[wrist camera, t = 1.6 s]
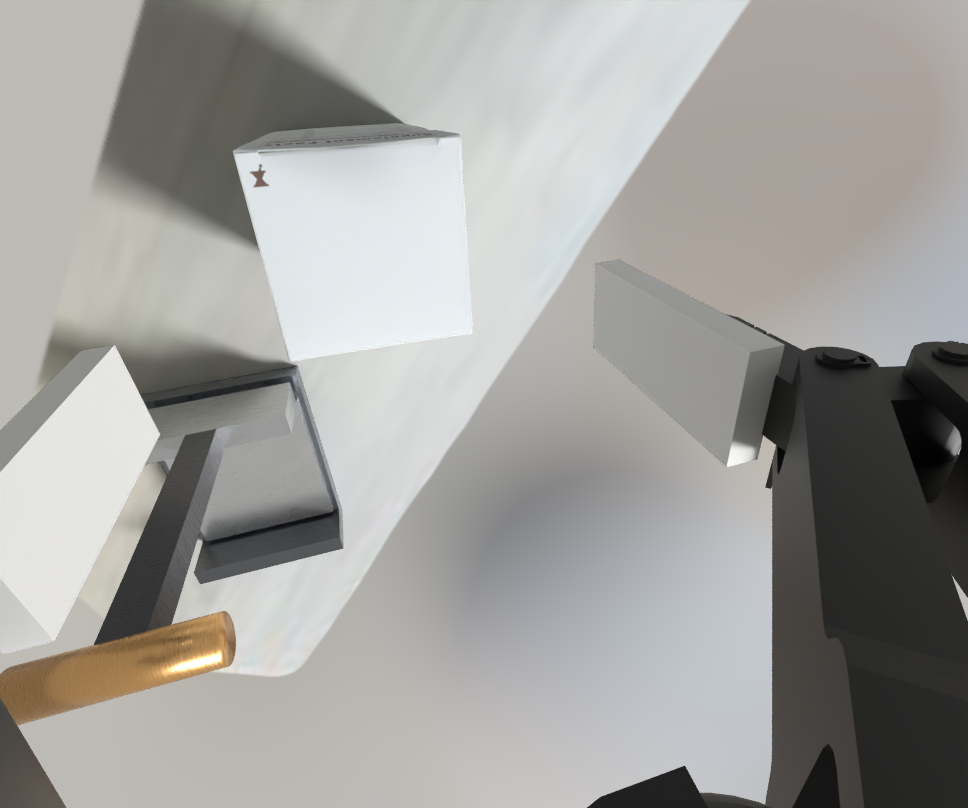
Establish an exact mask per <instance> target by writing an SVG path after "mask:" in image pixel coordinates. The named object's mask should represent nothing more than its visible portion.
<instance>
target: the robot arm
mask: <svg viewBox="0 0 968 808" xmlns="http://www.w3.org/2000/svg"><path fill="white" fill-rule="evenodd" d="M595 266H596V267H595V301H594V338H593V348H594V349H596V350H597V351H598V352H599V353H600V354H601V355H602V356H604V358H606V359H607V360H608V361H609V362H610V363H611V364H612V365H613V366H615V367H616V368H617V369H618V370H619V371H620V372H621V373H622V374H623V375H625V376H626V377H627V378H628V379H629V380H630V381H631V382H632V383H633V384H635V385H636V386H637V387H638V388H639V389H640V390H641V391H642V392H644V393H645V394H646V395H647V396H648V397H649V398H650V399H652V401H654V402H655V403H656V404H657V405H658V406H659V407H660V408H661V409H662V410H664V411H665V412H666V413H667V414H668V415H669V416H670V417H671V418H673V419H674V420H675V421H676V422H677V423H678V424H679V425H680V426H682V427H683V428H684V429H685V430H686V431H687V432H688V433H689V434H690V435H691V436H693V437H694V438H695V439H696V440H697V441H698V442H699V443H700V444H701V445H703V446H704V447H705V448H706V449H707V450H708V451H709V452H710V453H712V454H713V455H714V456H715V457H716V458H717V459H718V460H719V461H720V462H722V463H723V464H724V465H725V466H726V467H729V466H733V465H736V464H741V463H744V462H748V461H752V460H756V459H757V458H758V454H759V450H760V446H761V442H762V438H763V435H764V436H765V437H766V438H768V439H769V440H770V441H772V442H773V443H774V444H776V449H775V452H774V456H773V460H772V464H771V468H770V472H769V476H768V479H767V483H766V488H770V489H771V488H772V493H773V496H772V500H773V501H772V507H773V509H772V513H773V514H772V517H773V518H772V521H773V522H772V524H773V525H772V531H773V532H772V534H773V535H772V536H773V537H772V538H773V539H772V546H773V547H772V550H773V551H772V552H773V553H772V570H773V571H772V578H773V579H772V609H773V610H772V764H771V773H770V779H769V785H768V790H767V796H766V804H765V805H764V804H762V803H759V802H756V801H752V800H748V799H744V798H740V797H736V796H731V795H723V794H714V793H699V791H698V789H697V787H696V785H695V783H694V782H693V780H692V778H691V776H690V774H689V772H688V771H687V769H686V767H685V766H683V767H680V768H677V769H675V770H672V771H669V772H667V773H664V774H661V775H659V776H656V777H653V778H651V779H648V780H645V781H642V782H640V783H637V784H634V785H632V786H629V787H626V788H624V789H621V790H619V791H615V792H613V793H610V794H607V795H605V796H602V797H600V798H599V799H597V800H596V801H595V802H594V803H592V804H591V805H590V806H589V807H587V808H968V621H967V618H966V615H965V612H964V609H963V607H962V603H961V601H960V598H959V595H958V592H957V589H956V586H955V584H954V581H953V578H952V576H953V577H954V579H955V580H956V582H957V583H958V584H959V586H960V587H961V589H962V590H963V592H964V593H965V595H966V596H967V597H968V344H965V343H959V342H954V341H948V342H924V343H921V344H918V345H915V346H914V348H913V349H912V351H911V353H910V356H909V359H908V361H907V364H906V366H899V367H898V366H897V367H879V366H878V364H877V363H876V362H875V361H874V360H873V359H872V358H870V357H868V356H867V355H865V354H862V353H859V352H856V351H853V350H850V349H844V348H838V347H816V348H809V349H807V350H805V351H803V350H801V349H799V348H797V347H796V346H793V345H791V344H790V343H788V342H786V341H784V340H782V339H780V338H778V337H776V336H774V335H772V334H767V332H766V331H764V330H762V329H760V328H758V327H755V328H754V325H752V324H750V323H748V322H746V321H744V320H742V319H740V318H738V317H734V316H731V315H727V314H724V313H722V312H720V311H718V310H716V309H714V308H712V307H710V306H708V305H707V304H705V303H703V302H701V301H699V300H697V299H695V298H693V297H691V296H689V295H687V294H685V293H683V292H682V291H679V290H678V289H676V288H674V287H672V286H670V285H668V284H666V283H664V282H662V281H660V280H658V279H656V278H654V277H652V276H650V275H648V274H647V273H645V272H643V271H641V270H639V269H637V268H635V267H633V266H631V265H629V264H627V263H625V262H623V261H621V260H612V261H606V262H601V263H596V265H595ZM159 436H160V433H159V431H158V429H157V427H156V425H155V423H154V422H153V420H152V418H151V416H150V414H149V412H148V410H147V408H146V406H145V404H144V402H143V400H142V398H141V396H140V394H139V392H138V390H137V388H136V386H135V384H134V382H133V380H132V378H131V376H130V374H129V372H128V370H127V368H126V366H125V364H124V362H123V360H122V358H121V356H120V354H119V352H118V350H117V348H116V347H115V345H111V346H105V347H99V348H93V349H87V350H82V351H80V352H79V353H78V354H77V355H76V356H75V357H74V358H73V359H72V360H71V361H70V362H69V363H68V364H67V365H66V366H65V367H64V368H63V369H62V370H61V371H60V372H59V373H58V374H57V375H56V376H55V377H54V378H53V379H52V380H51V381H50V382H49V383H48V384H47V385H46V386H45V387H44V388H43V389H42V390H41V391H40V392H39V393H38V394H37V395H36V396H35V397H33V398H32V399H31V400H30V401H29V402H28V403H27V404H26V405H25V406H24V407H23V408H22V409H21V410H20V411H19V412H18V413H17V414H16V415H15V416H14V417H13V418H12V419H11V420H10V421H9V422H8V423H7V424H6V425H5V426H4V427H3V428H2V429H1V430H0V651H1V652H2V653H3V654H7V653H11V652H14V651H18V650H22V649H26V648H30V647H34V646H38V645H42V644H45V643H49V642H53V641H55V639H56V637H57V635H58V633H59V631H60V629H61V627H62V625H63V623H64V621H65V619H66V617H67V615H68V613H69V611H70V609H71V607H72V605H73V603H74V602H75V599H76V598H77V596H78V594H79V592H80V590H81V588H82V586H83V584H84V582H85V580H86V578H87V576H88V574H89V572H90V570H91V568H92V566H93V564H94V563H95V561H96V559H97V557H98V555H99V553H100V551H101V549H102V547H103V545H104V543H105V541H106V539H107V537H108V535H109V533H110V531H111V529H112V527H113V525H114V523H115V522H116V520H117V518H118V516H119V514H120V512H121V510H122V508H123V506H124V504H125V502H126V500H127V498H128V496H129V494H130V492H131V490H132V488H133V486H134V484H135V482H136V481H137V479H138V477H139V475H140V473H141V471H142V469H143V467H144V465H145V463H146V461H147V459H148V457H149V455H150V453H151V451H152V449H153V447H154V445H155V443H156V441H157V440H158V438H159ZM960 447H961V450H960V453H959V455H958V454H957V453H958V451H959V449H960ZM951 574H952V575H951ZM0 808H66V806H65V805H64V803H63V801H62V800H61V798H60V797H59V795H58V793H57V792H56V790H55V788H54V786H53V785H52V783H51V781H50V780H49V778H48V776H47V775H46V773H45V771H44V770H43V768H42V766H41V765H40V763H39V761H38V760H37V758H36V756H35V755H34V753H33V751H32V750H31V748H30V746H29V745H28V743H27V741H26V740H25V738H24V736H23V735H22V733H21V731H20V730H19V728H18V726H17V725H16V723H15V721H14V720H13V718H12V716H11V715H10V713H9V711H8V710H7V708H6V706H5V705H4V703H3V701H2V700H1V698H0Z"/></svg>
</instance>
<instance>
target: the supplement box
mask: <svg viewBox="0 0 968 808" xmlns="http://www.w3.org/2000/svg"><path fill="white" fill-rule="evenodd" d="M233 155H234V159H235V163H236V166H237V170H238V174H239V177H240V181H241V185H242V188H243V192H244V196H245V199H246V203H247V207H248V210H249V214H250V218H251V221H252V225H253V229H254V232H255V236H256V240H257V243H258V247H259V251H260V254H261V258H262V262H263V265H264V269H265V273H266V276H267V280H268V284H269V287H270V291H271V295H272V298H273V302H274V306H275V309H276V313H277V316H278V320H279V324H280V328H281V331H282V335H283V339H284V343H285V346H286V350H287V354H288V358H289V361H291V362H292V361H298V360H304V359H310V358H317V357H323V356H330V355H336V354H342V353H348V352H355V351H361V350H367V349H374V348H380V347H386V346H393V345H399V344H406V343H412V342H419V341H425V340H432V339H438V338H445V337H451V336H458V335H464V334H472V333H473V327H472V312H471V297H470V282H469V268H468V251H467V235H466V219H465V201H464V183H463V164H462V145H461V136H460V135H459V134H456V133H450V132H444V131H438V130H427V129H425V128H422V127H417V126H411V125H407V124H403V123H389V124H370V125H354V126H339V127H324V128H310V129H298V130H286V131H276V132H271V133H268V134H266V135H264V136H261V137H259V138H258V139H256V140H254V141H251V142H249V143H246V144H244V145H242V146H240V147H238V148H236V149H234V150H233Z"/></svg>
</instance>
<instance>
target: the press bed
mask: <svg viewBox="0 0 968 808" xmlns="http://www.w3.org/2000/svg"><path fill="white" fill-rule="evenodd" d="M288 382H290V384H291V387H292V390H293V393H294V396H295V400H296V401H295V410H294V419H293V428H292V434H289V435H284V436H279V437H274V438H269V439H265V440H260V441H255V442H250V443H245V444H241V445H236V446H231V447H226V448H225V449H224V453H223V456H222V459H221V462H220V466H219V469H218V472H217V476H216V479H215V482H214V486H213V489H212V492H211V495H210V499H209V502H208V505H207V509H206V512H205V515H204V519H203V522H202V525H201V528H200V532H199V536H200V538H201V540H202V541H203V544H202V547H201V550H200V554H199V557H198V561H197V564H196V568H195V571H194V574H195V576H196V577H197V579H198V581H199V583H200V584H203V583H207V582H211V581H215V580H219V579H223V578H227V577H231V576H235V575H239V574H243V573H247V572H251V571H255V570H259V569H263V568H267V567H271V566H275V565H279V564H283V563H287V562H291V561H295V560H299V559H303V558H307V557H311V556H315V555H319V554H323V553H327V552H331V551H335V550H339V549H343V520H342V508H341V505H340V502H339V499H338V495H337V492H336V489H335V486H334V482H333V479H332V476H331V473H330V470H329V466H328V463H327V460H326V457H325V454H324V450H323V447H322V444H321V441H320V437H319V434H318V431H317V428H316V425H315V421H314V418H313V415H312V412H311V408H310V405H309V402H308V399H307V396H306V392H305V389H304V386H303V383H302V380H301V376H300V373H299V370H298V367H297V366H295V367H290V368H284V369H279V370H273V371H268V372H263V373H257V374H252V375H247V376H241V377H236V378H230V379H225V380H220V381H214V382H209V383H204V384H198V385H193V386H187V387H182V388H177V389H171V390H166V391H161V392H155V393H150V394H144V395H140V396H141V398H142V400H143V402H144V404H145V406H146V408H147V409H152V408H158V407H163V406H168V405H173V404H179V403H184V402H189V401H194V400H199V399H205V398H210V397H215V396H220V395H226V394H231V393H236V392H241V391H247V390H252V389H257V388H262V387H268V386H273V385H278V384H283V383H288ZM174 460H175V458H173V459H168V460H164V461H160V462H161V464H162V465H163V467H164V469H165V471H166V473H167V475H168V473H169V471H170V469H171V466H172V464H173V462H174Z"/></svg>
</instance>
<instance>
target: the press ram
mask: <svg viewBox="0 0 968 808" xmlns="http://www.w3.org/2000/svg"><path fill="white" fill-rule="evenodd" d="M295 401H296V400H295V396H294V393H293V390H292V387H291V384H290V382H288V383H283V384H278V385H273V386H268V387H262V388H257V389H252V390H247V391H241V392H236V393H231V394H226V395H220V396H215V397H210V398H205V399H199V400H194V401H189V402H184V403H179V404H173V405H168V406H163V407H158V408H152V409H147V410H148V412H149V414H150V416H151V418H152V420H153V422H154V423H155V425H156V427H157V429H158V431H159V433H160V436H159V438H158V440H157V441H156V443H155V445H154V447H153V449H152V451H151V453H150V455H149V457H148V459H147V461H146V463H145V464H149V463H154V462H159V461H164V460H168V459H173V458H175V460H174V462H173V464H172V466H171V469H170V471H169V473H168V476H167V478H166V480H165V483H164V485H163V487H162V489H161V492H160V494H159V496H158V499H157V501H156V503H155V505H154V508H153V510H152V512H151V515H150V517H149V519H148V522H147V524H146V526H145V528H144V531H143V533H142V535H141V538H140V540H139V542H138V544H137V547H136V549H135V551H134V554H133V556H132V558H131V561H130V563H129V565H128V567H127V570H126V572H125V574H124V577H123V579H122V581H121V583H120V586H119V588H118V590H117V593H116V595H115V597H114V600H113V602H112V604H111V606H110V609H109V611H108V613H107V616H106V618H105V620H104V622H103V625H102V627H101V629H100V632H99V634H98V637H97V639H96V641H95V643H94V645H92V646H88V647H84V648H80V649H76V650H73V651H69V652H65V653H62V654H57V655H53V656H50V657H46V658H42V659H39V660H35V661H30V662H27V663H23V664H19V665H15V666H12V667H9V668H7V669H6V670H4V671H3V672H2V673H1V674H0V698H1V700H2V701H3V703H4V705H5V706H6V708H7V710H8V711H9V713H10V715H11V716H12V718H13V720H14V721H15V723H16V725H21V724H24V723H28V722H31V721H35V720H39V719H42V718H46V717H49V716H53V715H56V714H60V713H63V712H67V711H71V710H74V709H78V708H82V707H85V706H88V705H92V704H95V703H99V702H103V701H107V700H110V699H113V698H117V697H121V696H124V695H128V694H131V693H135V692H139V691H142V690H146V689H150V688H153V687H156V686H160V685H163V684H167V683H171V682H175V681H178V680H182V679H185V678H189V677H192V676H196V675H199V674H203V673H207V672H210V671H214V670H217V669H221V668H225V667H228V666H230V665H231V664H232V662H233V660H234V656H235V649H236V637H235V630H234V625H233V622H232V619H231V617H230V615H229V614H228V613H227V612H226V611H222V612H218V613H214V614H210V615H207V616H203V617H199V618H195V619H191V620H187V621H184V622H180V623H176V624H172V621H173V618H174V614H175V611H176V608H177V604H178V601H179V598H180V594H181V591H182V588H183V585H184V581H185V578H186V575H187V571H188V568H189V565H190V561H191V558H192V555H193V552H194V548H195V545H196V542H197V538H198V535H199V532H200V528H201V525H202V522H203V519H204V515H205V512H206V509H207V505H208V502H209V499H210V495H211V492H212V489H213V486H214V482H215V479H216V476H217V472H218V469H219V466H220V462H221V459H222V456H223V453H224V449H225V448H226V447H231V446H236V445H241V444H245V443H250V442H255V441H260V440H265V439H269V438H274V437H279V436H284V435H289V434H292V428H293V419H294V410H295ZM171 624H172V625H171Z"/></svg>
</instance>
